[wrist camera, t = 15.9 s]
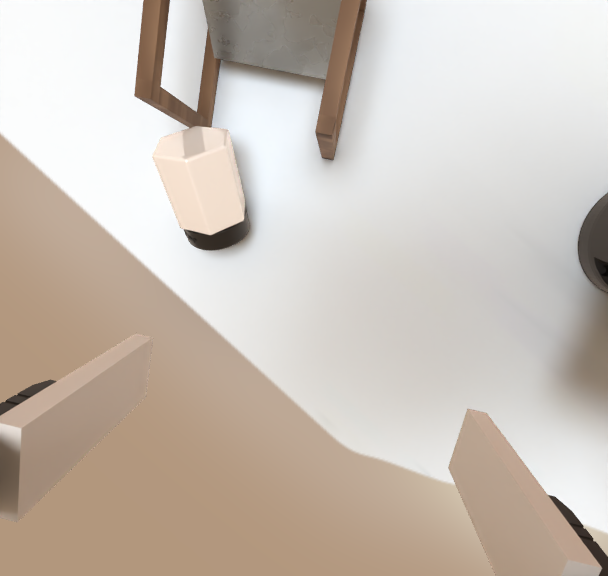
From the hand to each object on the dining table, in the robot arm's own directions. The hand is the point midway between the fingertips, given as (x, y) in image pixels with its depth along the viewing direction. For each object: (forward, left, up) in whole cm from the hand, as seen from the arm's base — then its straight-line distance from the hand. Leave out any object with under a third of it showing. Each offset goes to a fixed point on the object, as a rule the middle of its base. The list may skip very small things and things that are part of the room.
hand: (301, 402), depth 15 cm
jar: (+17, -12, -28) cm, 35 cm away
